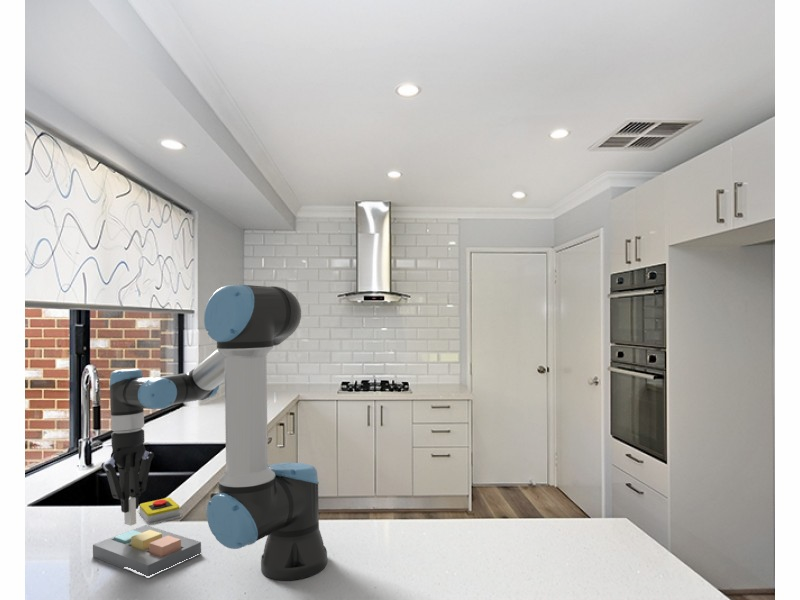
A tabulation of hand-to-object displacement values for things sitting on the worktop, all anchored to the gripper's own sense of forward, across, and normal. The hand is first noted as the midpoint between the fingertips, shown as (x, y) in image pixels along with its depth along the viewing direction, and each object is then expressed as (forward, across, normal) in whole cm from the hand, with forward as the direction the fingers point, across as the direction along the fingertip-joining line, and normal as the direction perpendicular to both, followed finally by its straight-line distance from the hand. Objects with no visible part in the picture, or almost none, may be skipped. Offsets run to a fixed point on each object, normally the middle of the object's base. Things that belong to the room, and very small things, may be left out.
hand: (130, 523), depth 136 cm
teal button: (+6, 0, -1) cm, 6 cm away
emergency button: (+7, -19, -17) cm, 26 cm away
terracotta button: (+5, 0, +14) cm, 15 cm away
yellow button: (+5, 0, +7) cm, 8 cm away
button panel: (+7, 0, +7) cm, 10 cm away
